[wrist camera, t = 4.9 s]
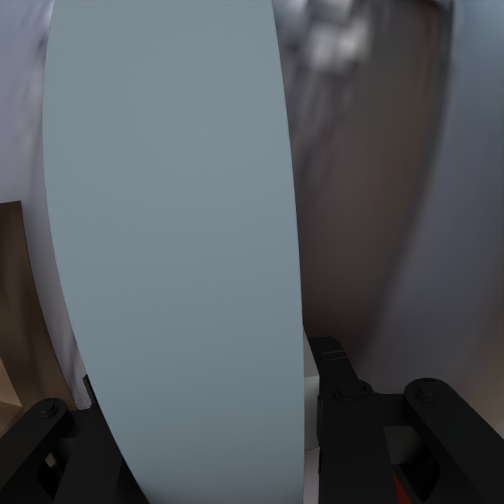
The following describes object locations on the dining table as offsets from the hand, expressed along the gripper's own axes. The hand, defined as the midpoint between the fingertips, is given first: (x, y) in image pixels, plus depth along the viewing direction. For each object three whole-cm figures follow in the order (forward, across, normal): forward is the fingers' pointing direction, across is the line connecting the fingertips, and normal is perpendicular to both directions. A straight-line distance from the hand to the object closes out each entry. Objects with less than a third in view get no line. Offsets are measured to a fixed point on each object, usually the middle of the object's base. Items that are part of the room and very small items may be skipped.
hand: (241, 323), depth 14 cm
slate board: (+1, 0, -1) cm, 1 cm away
